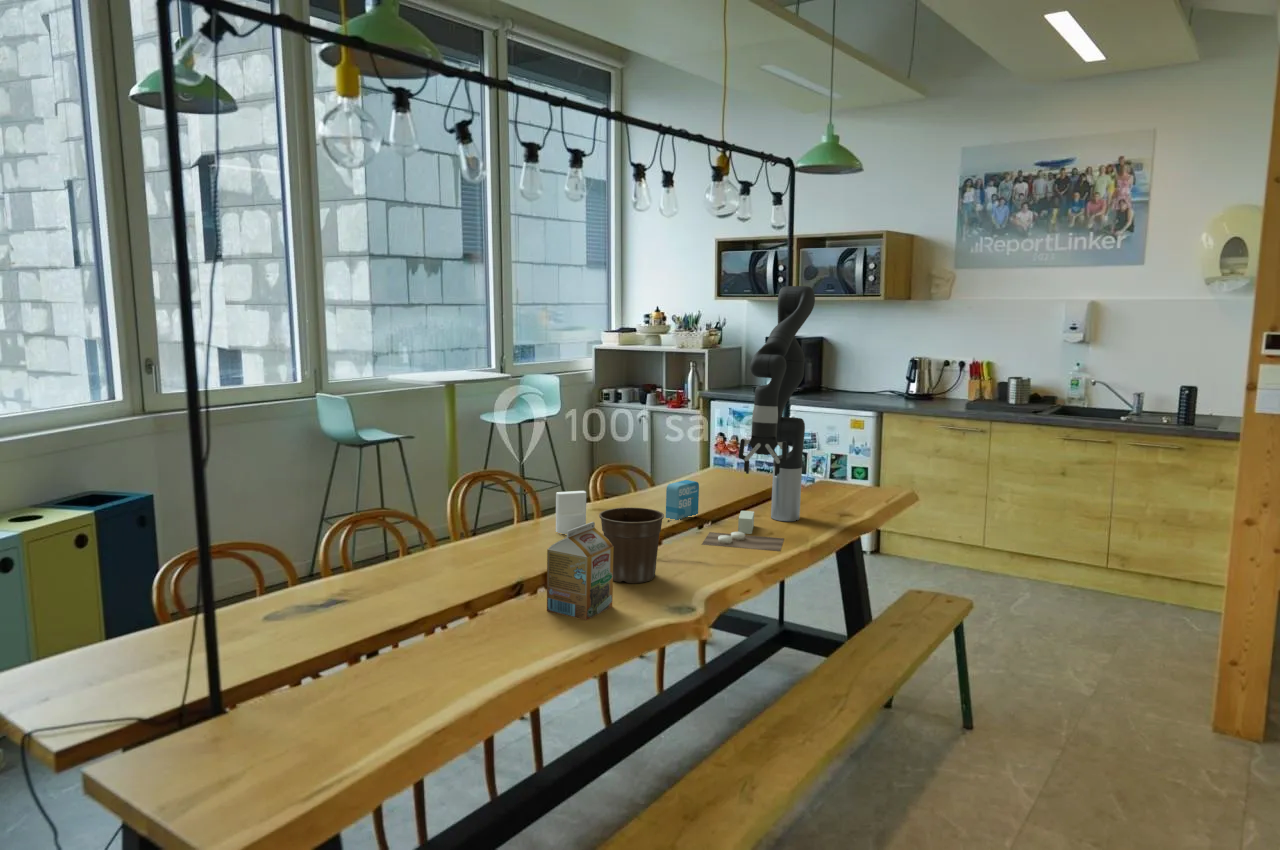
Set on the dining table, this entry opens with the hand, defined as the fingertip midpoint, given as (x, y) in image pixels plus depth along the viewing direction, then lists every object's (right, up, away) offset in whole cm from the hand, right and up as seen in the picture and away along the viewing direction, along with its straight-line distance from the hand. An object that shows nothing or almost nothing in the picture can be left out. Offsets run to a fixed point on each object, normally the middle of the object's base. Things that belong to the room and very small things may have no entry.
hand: (761, 474), depth 260 cm
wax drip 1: (-12, -19, -14) cm, 26 cm away
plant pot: (-39, -24, -43) cm, 62 cm away
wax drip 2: (-8, -18, -10) cm, 22 cm away
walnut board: (-7, -20, -12) cm, 25 cm away
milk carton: (-50, -27, -66) cm, 87 cm away
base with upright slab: (-57, -17, 0) cm, 60 cm away
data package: (-23, -16, +18) cm, 33 cm away
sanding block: (-5, -18, +1) cm, 19 cm away
